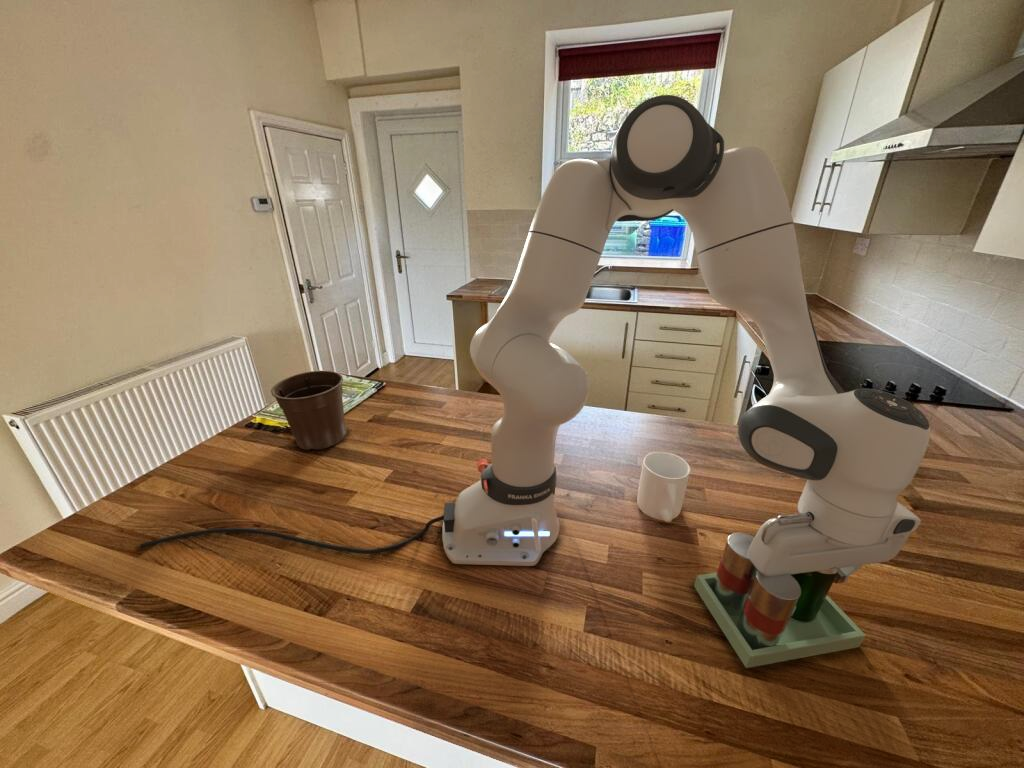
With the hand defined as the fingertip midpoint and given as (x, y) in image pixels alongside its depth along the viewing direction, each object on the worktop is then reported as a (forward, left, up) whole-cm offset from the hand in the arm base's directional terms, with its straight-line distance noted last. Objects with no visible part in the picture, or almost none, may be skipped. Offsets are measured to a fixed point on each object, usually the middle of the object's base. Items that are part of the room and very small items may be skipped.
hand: (807, 583), depth 58 cm
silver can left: (-8, +3, -7) cm, 11 cm away
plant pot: (-84, +63, -7) cm, 106 cm away
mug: (-9, +23, -7) cm, 26 cm away
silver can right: (-8, -3, -7) cm, 11 cm away
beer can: (+1, +1, -7) cm, 7 cm away
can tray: (-3, 0, -7) cm, 8 cm away
